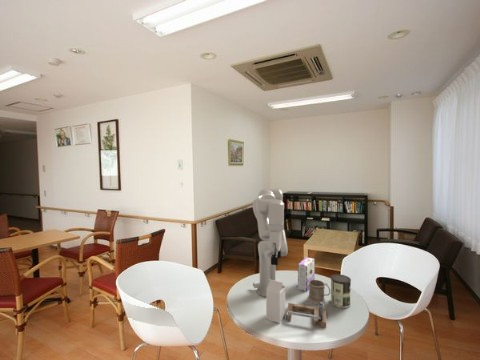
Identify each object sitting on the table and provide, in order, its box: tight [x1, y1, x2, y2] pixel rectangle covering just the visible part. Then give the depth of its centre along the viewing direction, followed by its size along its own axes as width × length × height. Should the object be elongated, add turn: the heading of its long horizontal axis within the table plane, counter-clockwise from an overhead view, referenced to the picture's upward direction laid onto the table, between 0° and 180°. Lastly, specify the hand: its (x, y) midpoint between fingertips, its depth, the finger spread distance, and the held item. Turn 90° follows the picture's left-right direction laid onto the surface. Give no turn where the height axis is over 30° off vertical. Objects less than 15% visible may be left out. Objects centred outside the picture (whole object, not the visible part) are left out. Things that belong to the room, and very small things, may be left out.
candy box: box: [297, 256, 315, 293], centre depth 160 cm, size 14×6×16 cm, turn 144°
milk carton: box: [265, 279, 286, 324], centre depth 127 cm, size 7×7×19 cm
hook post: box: [318, 302, 324, 321], centre depth 121 cm, size 2×4×8 cm, turn 163°
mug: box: [306, 279, 331, 305], centre depth 142 cm, size 14×10×12 cm
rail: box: [287, 311, 321, 322], centre depth 123 cm, size 16×1×4 cm, turn 73°
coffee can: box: [330, 273, 352, 309], centre depth 141 cm, size 10×10×14 cm
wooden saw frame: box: [285, 302, 327, 329], centre depth 128 cm, size 19×12×2 cm, turn 73°
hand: (276, 261), depth 126 cm, fingers open, 9 cm apart
